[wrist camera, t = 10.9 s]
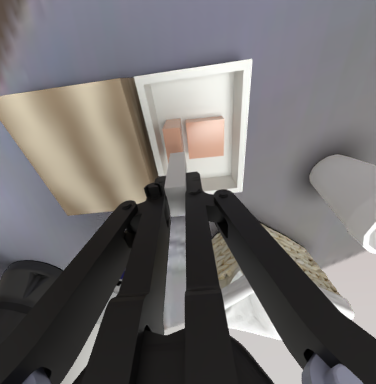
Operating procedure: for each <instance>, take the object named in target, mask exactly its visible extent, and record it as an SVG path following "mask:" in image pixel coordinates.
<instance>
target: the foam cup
mask: <svg viewBox="0 0 376 384" xmlns="http://www.w3.org/2000/svg"><path fill="white" fill-rule="evenodd" d="M309 179H310V183H311V184H312V185H313V187H314V188H315V189H316V190H317V192H318V193H319V194H320V195H321V197H322V198H323V199H324V200H325V202H326V203H327V204H328V205H329V207H330V208H331V209H332V210H333V212H334V213H335V214H336V215H337V217H338V218H339V219H340V220H341V222H342V223H343V224H344V225H345V227H346V228H347V232H348V233H349V234H350V235H351V236H352V237H353V238H354V239H356V240H357V241H358V242H359V243H360V244H361V245H362V246H363V247H364V248H365V249H366V250H368V251H369V252H370V253H375V254H376V165H373V164H370V163H367V162H364V161H360V160H357V159H354V158H351V157H347V156H344V155H339V154H336V155H332V156H328V157H326V158H324V159H323V160H321V161H319V162H318V163H317V164H316V165H315V166H314V167H313V168H312V171H311V173H310V175H309Z"/></svg>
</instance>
